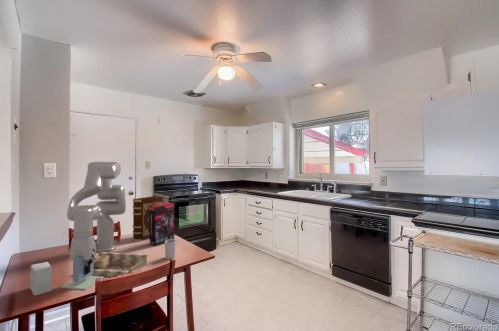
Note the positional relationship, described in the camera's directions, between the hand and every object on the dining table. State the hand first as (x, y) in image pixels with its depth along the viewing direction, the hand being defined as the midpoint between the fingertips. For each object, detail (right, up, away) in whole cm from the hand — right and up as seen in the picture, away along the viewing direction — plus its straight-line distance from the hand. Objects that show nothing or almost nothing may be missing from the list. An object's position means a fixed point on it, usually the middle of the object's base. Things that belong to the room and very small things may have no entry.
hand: (83, 272), depth 121 cm
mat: (0, -5, 0) cm, 5 cm away
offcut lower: (-1, -5, +16) cm, 17 cm away
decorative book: (+1, -4, +72) cm, 73 cm away
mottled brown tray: (+7, -5, +15) cm, 17 cm away
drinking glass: (+31, -5, +33) cm, 45 cm away
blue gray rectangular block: (0, -2, 0) cm, 2 cm away
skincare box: (-15, -5, -6) cm, 17 cm away
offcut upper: (-1, -2, +16) cm, 16 cm away
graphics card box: (+16, -4, +61) cm, 63 cm away
